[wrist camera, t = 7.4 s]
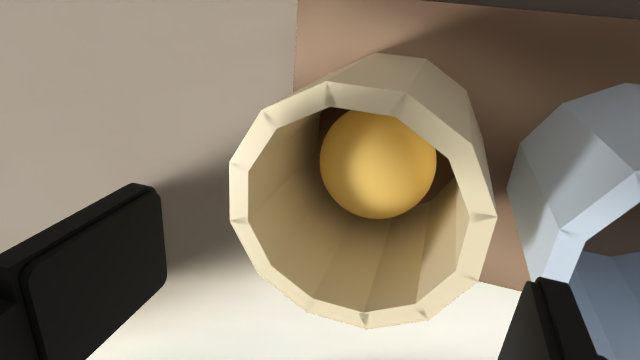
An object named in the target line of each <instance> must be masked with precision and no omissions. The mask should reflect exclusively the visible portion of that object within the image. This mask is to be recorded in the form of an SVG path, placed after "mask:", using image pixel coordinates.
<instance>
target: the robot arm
mask: <svg viewBox="0 0 640 360" xmlns="http://www.w3.org/2000/svg"><path fill="white" fill-rule="evenodd" d="M166 278H167V266H166V255H165V244H164V233H163V222H162V210H161V200H160V196H159V195H158V194H157V193H156V191H155V189H154V188H153V187H150V186H145V185H141V184H137V183H130V184H128V185H126V186H124V187H122V188H121V189H119V190H117V191H115V192H113V193H111V194H110V195H108V196H106V197H104V198H102V199H100V200H99V201H97V202H95V203H93V204H91V205H89V206H87V207H86V208H84V209H82V210H80V211H78V212H76V213H75V214H73V215H71V216H69V217H67V218H65V219H64V220H62V221H60V222H58V223H56V224H54V225H52V226H51V227H49V228H47V229H45V230H43V231H41V232H40V233H38V234H36V235H34V236H32V237H30V238H29V239H27V240H25V241H23V242H21V243H19V244H18V245H16V246H14V247H12V248H10V249H8V250H6V251H5V252H3V253H1V254H0V360H86V359H87V358H88V357H89V356H90V355H91V354H92V353H93V352H94V351H95V350H96V349H97V348H98V347H99V346H100V345H102V344H103V343H104V342H105V341H106V340H107V339H108V338H109V337H110V336H111V335H112V334H113V333H114V332H115V331H116V330H117V329H118V328H119V327H120V326H121V325H123V324H124V323H125V322H126V321H127V320H128V319H129V318H130V317H131V316H132V315H133V314H134V313H135V312H136V311H137V310H138V309H139V308H140V307H141V306H142V305H144V304H145V303H146V302H147V301H148V300H149V299H150V298H151V297H152V296H153V295H154V294H155V293H156V292H157V291H158V290H159V289H160V288H161V287H162V286H163V285H164V283H165V281H166ZM498 360H608V359H607V358H605V357H604V356H601V355H598V354H597V352H596V349H595V347H594V344H593V342H592V339H591V337H590V335H589V332H588V330H587V327H586V325H585V322H584V320H583V317H582V315H581V312H580V310H579V307H578V305H577V302H576V300H575V297H574V295H573V292H572V290H571V287H570V285H569V284H568V283H565V282H561V281H557V280H552V279H548V278H544V277H537V279H536V280H535V282H532V281H527V282H526V283H525V285H524V288H523V290H522V293H521V296H520V299H519V301H518V304H517V307H516V310H515V313H514V315H513V318H512V321H511V324H510V327H509V329H508V332H507V335H506V338H505V340H504V343H503V346H502V349H501V352H500V354H499V357H498Z"/></svg>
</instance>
